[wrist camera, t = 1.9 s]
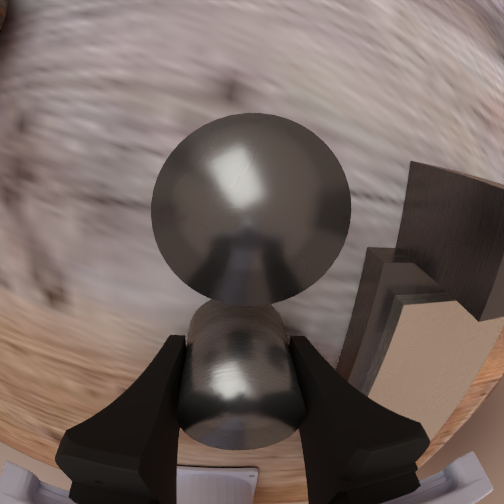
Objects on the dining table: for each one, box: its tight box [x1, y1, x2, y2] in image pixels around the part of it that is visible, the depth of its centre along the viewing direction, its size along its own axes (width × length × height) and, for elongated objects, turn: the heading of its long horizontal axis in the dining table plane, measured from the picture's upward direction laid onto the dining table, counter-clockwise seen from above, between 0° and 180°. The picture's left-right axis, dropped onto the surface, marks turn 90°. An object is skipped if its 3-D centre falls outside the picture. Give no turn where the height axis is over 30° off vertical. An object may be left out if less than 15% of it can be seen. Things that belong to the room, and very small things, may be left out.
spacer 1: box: [151, 113, 351, 306], centre depth 9 cm, size 4×4×5 cm
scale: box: [336, 161, 504, 441], centre depth 13 cm, size 21×11×6 cm, turn 177°
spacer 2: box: [177, 299, 306, 450], centre depth 11 cm, size 4×4×5 cm
